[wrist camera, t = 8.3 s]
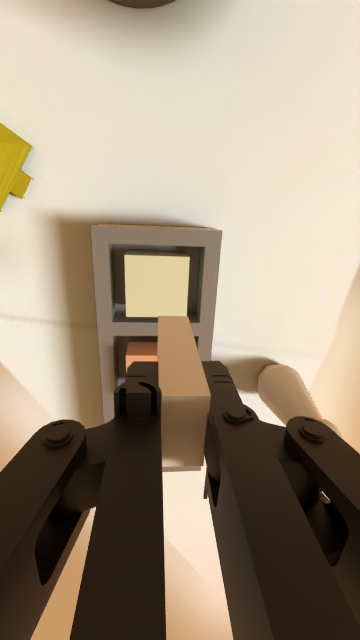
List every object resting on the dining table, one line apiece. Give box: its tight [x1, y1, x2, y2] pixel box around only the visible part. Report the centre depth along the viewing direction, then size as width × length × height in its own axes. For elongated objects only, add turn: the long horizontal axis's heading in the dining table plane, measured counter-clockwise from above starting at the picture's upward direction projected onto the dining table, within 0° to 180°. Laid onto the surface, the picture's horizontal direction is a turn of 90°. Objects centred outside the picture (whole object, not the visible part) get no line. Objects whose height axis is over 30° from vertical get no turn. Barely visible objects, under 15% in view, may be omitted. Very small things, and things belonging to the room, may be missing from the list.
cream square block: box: [124, 251, 190, 317], centre depth 28 cm, size 6×6×3 cm
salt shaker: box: [258, 364, 344, 440], centre depth 32 cm, size 6×6×13 cm
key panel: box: [90, 224, 222, 472], centre depth 33 cm, size 30×12×5 cm, turn 178°
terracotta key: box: [126, 342, 158, 372], centre depth 31 cm, size 6×6×3 cm
